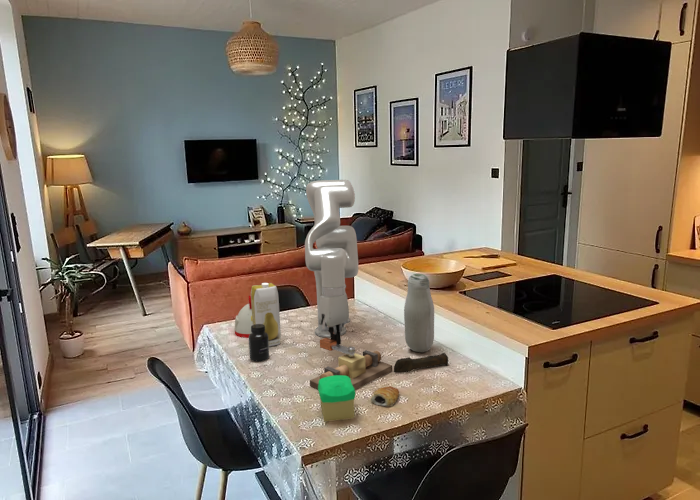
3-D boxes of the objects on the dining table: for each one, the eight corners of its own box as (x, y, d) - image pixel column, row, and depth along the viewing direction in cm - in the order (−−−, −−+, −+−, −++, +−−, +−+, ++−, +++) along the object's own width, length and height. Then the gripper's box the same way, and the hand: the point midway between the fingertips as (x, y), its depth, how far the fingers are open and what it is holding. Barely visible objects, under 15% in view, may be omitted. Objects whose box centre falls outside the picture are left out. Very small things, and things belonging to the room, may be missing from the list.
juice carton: (259, 350, 188) (254, 286, 183) (252, 343, 195) (248, 282, 190) (283, 344, 192) (279, 283, 187) (276, 338, 199) (272, 278, 194)
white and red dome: (235, 339, 199) (232, 302, 196) (234, 328, 212) (231, 293, 209) (271, 335, 202) (268, 299, 199) (268, 324, 215) (266, 290, 212)
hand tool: (443, 362, 173) (443, 349, 172) (449, 366, 169) (449, 353, 168) (390, 370, 168) (390, 357, 167) (395, 375, 164) (395, 362, 163)
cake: (322, 425, 135) (320, 390, 133) (317, 405, 145) (316, 373, 143) (358, 420, 137) (357, 386, 135) (351, 402, 147) (350, 369, 145)
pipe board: (365, 361, 175) (365, 341, 173) (392, 371, 166) (392, 350, 165) (310, 386, 157) (308, 364, 156) (336, 398, 149) (335, 375, 148)
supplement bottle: (265, 362, 176) (263, 329, 174) (246, 361, 177) (244, 329, 175) (272, 355, 183) (270, 323, 180) (254, 354, 184) (252, 322, 182)
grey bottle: (439, 349, 183) (439, 273, 177) (422, 358, 176) (422, 279, 170) (416, 343, 190) (415, 269, 184) (399, 351, 182) (398, 275, 177)
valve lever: (357, 355, 161) (356, 347, 160) (351, 358, 159) (350, 350, 158) (326, 345, 170) (325, 337, 170) (319, 347, 168) (319, 339, 168)
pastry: (384, 390, 154) (384, 378, 153) (404, 395, 150) (404, 383, 149) (369, 404, 146) (369, 391, 145) (390, 409, 142) (390, 397, 142)
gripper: (341, 284, 174) (343, 335, 177) (308, 293, 164) (311, 347, 167) (357, 287, 169) (359, 340, 172) (324, 297, 158) (327, 353, 162)
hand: (335, 343), depth 170 cm, fingers closed
